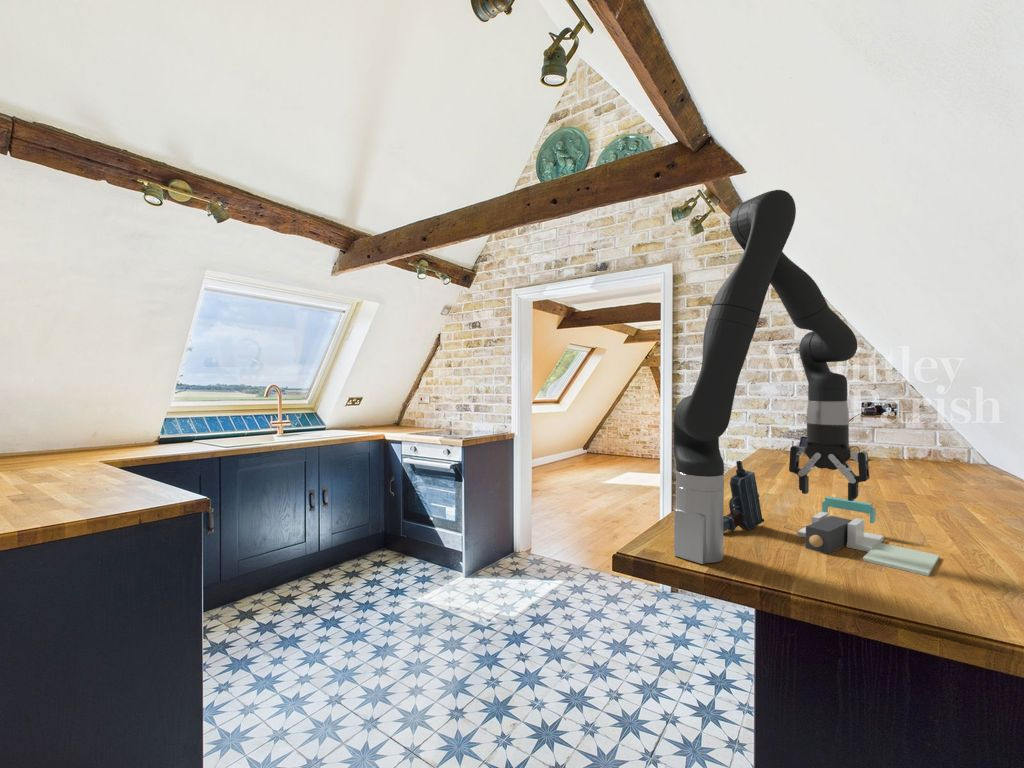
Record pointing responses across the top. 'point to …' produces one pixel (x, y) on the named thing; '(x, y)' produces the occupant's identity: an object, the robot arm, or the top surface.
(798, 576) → the top surface
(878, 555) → the mat
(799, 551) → the top surface
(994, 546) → the top surface
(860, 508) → the teal drawer handle
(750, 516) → the gun
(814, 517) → the clamp
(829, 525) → the grey block with knob
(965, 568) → the top surface
